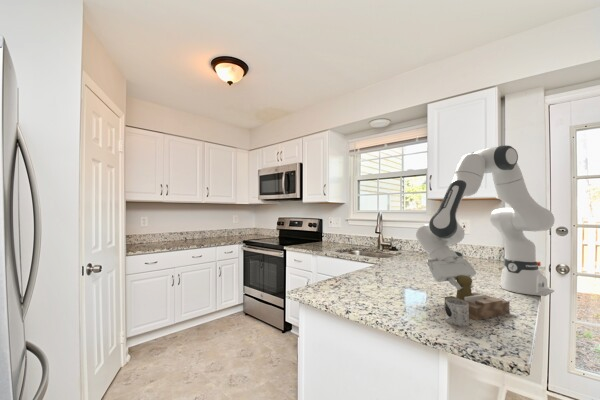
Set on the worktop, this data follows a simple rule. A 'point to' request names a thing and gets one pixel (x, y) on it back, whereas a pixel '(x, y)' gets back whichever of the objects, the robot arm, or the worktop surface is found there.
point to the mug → (457, 312)
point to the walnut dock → (485, 307)
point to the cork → (464, 286)
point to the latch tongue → (474, 298)
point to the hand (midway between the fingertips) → (465, 288)
